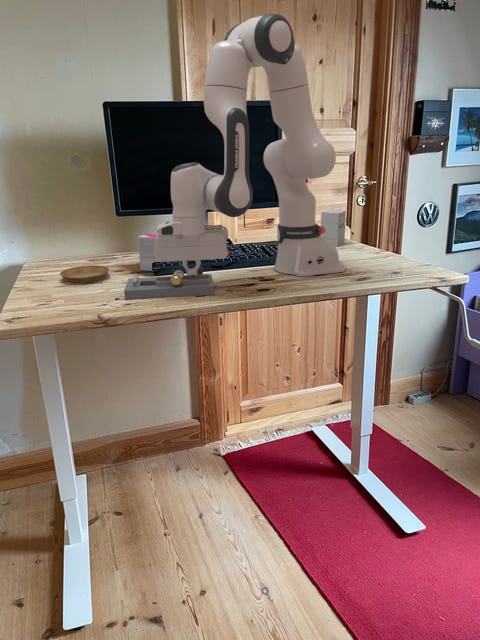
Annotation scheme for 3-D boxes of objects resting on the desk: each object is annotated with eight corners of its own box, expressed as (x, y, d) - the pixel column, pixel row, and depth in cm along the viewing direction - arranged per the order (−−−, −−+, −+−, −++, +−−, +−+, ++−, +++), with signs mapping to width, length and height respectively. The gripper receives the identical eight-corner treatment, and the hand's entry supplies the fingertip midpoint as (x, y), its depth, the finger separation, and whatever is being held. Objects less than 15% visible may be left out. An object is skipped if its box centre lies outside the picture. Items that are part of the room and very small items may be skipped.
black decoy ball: (203, 274, 147) (202, 263, 146) (203, 277, 144) (203, 266, 143) (192, 275, 146) (191, 264, 145) (192, 278, 143) (191, 267, 142)
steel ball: (184, 269, 141) (173, 268, 141) (184, 272, 138) (173, 271, 138) (184, 280, 142) (172, 279, 142) (184, 283, 139) (172, 282, 139)
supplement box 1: (157, 272, 160) (154, 237, 156) (140, 272, 161) (136, 236, 157) (163, 268, 165) (161, 233, 161) (146, 267, 166) (143, 233, 162)
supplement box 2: (337, 247, 187) (338, 213, 183) (319, 245, 191) (320, 211, 187) (345, 243, 193) (346, 210, 189) (327, 241, 197) (328, 209, 192)
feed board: (211, 282, 148) (211, 269, 146) (214, 294, 137) (213, 280, 135) (129, 286, 146) (128, 273, 144) (124, 299, 134) (123, 285, 133)
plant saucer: (62, 275, 161) (61, 267, 160) (110, 271, 164) (109, 263, 163) (59, 288, 147) (58, 279, 146) (110, 283, 151) (109, 275, 150)
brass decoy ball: (182, 284, 138) (181, 272, 137) (182, 287, 135) (181, 276, 134) (171, 284, 138) (170, 273, 136) (170, 288, 135) (169, 276, 134)
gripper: (226, 222, 139) (228, 270, 144) (152, 225, 137) (156, 274, 142) (228, 226, 133) (230, 276, 138) (151, 229, 131) (155, 280, 136)
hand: (192, 275), depth 140 cm, fingers closed
